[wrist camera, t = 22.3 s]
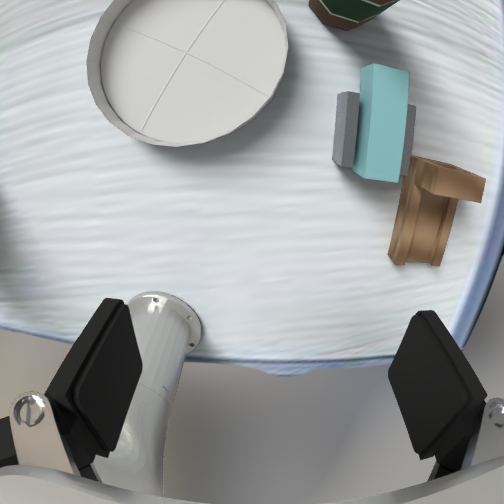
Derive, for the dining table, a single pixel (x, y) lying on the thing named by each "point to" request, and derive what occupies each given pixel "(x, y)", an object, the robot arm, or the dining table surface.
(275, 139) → the dining table surface
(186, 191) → the dining table surface
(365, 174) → the teal block
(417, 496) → the robot arm
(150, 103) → the dish
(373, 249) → the dining table surface
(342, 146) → the cradle block
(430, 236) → the brown wooden bracket
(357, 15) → the beer bottle
